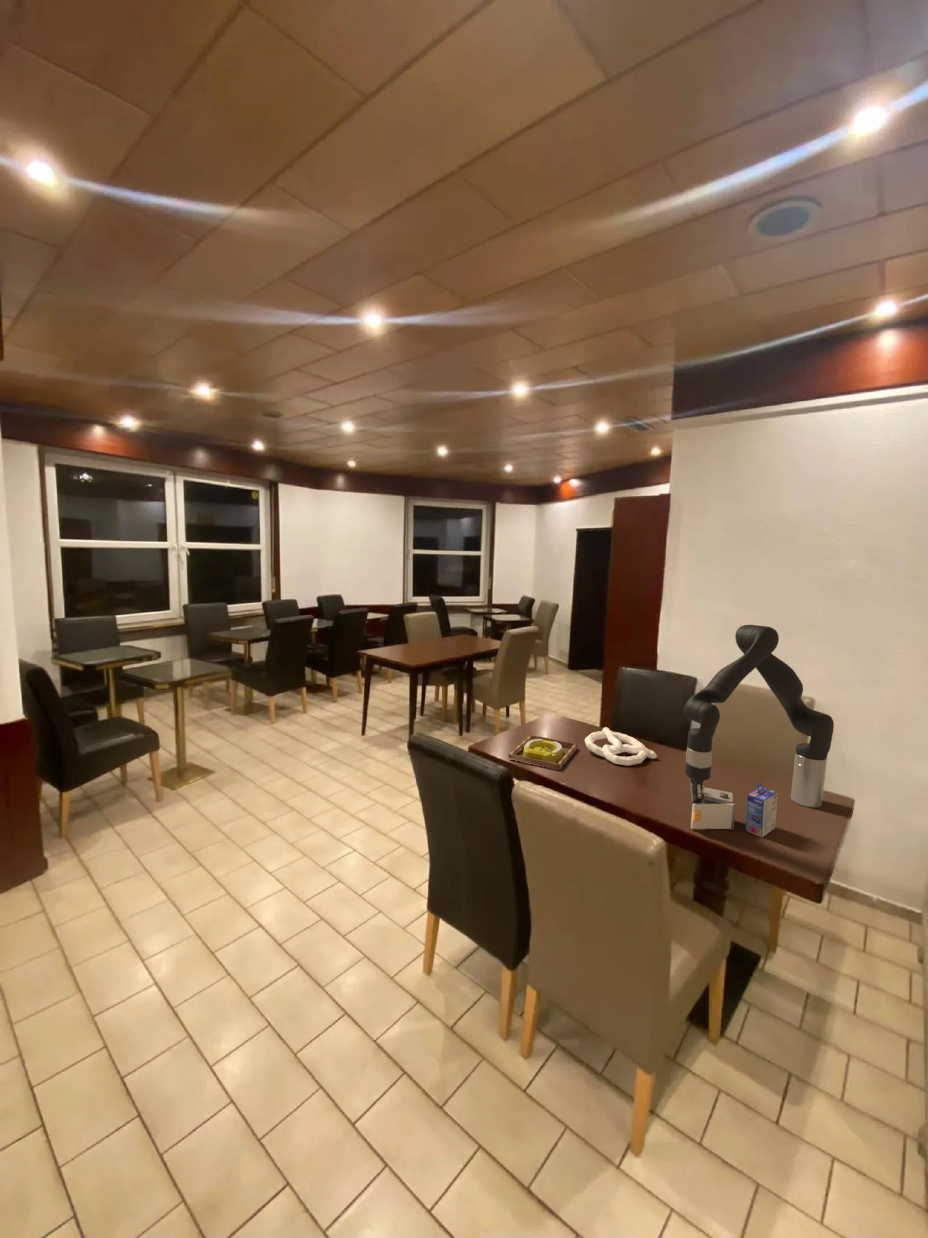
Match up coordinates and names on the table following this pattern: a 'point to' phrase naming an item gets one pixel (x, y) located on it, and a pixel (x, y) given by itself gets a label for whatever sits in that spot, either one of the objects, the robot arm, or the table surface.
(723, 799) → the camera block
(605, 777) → the table surface
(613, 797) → the table surface
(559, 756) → the ashtray
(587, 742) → the pretzel
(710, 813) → the door
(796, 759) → the robot arm
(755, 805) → the ink cartridge box
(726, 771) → the table surface
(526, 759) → the wooden tray
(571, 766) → the table surface
